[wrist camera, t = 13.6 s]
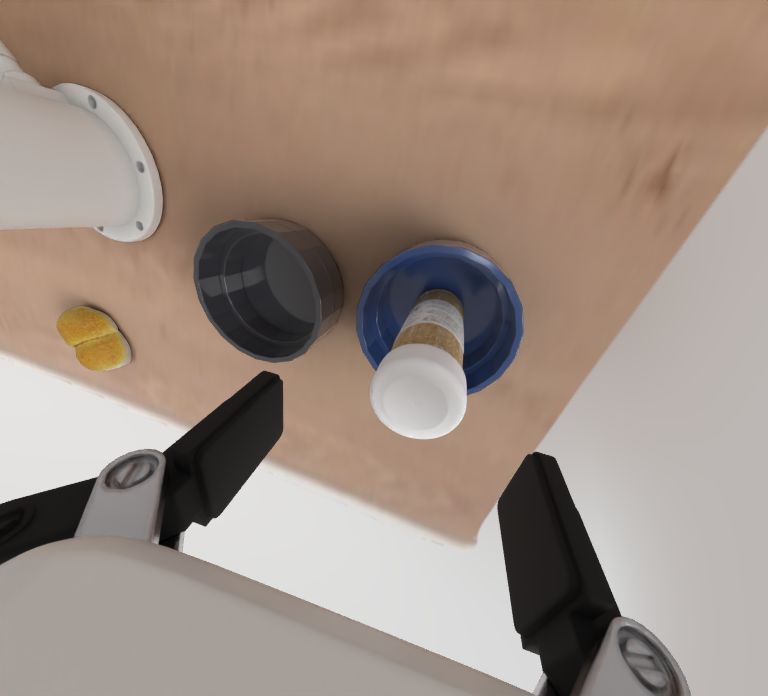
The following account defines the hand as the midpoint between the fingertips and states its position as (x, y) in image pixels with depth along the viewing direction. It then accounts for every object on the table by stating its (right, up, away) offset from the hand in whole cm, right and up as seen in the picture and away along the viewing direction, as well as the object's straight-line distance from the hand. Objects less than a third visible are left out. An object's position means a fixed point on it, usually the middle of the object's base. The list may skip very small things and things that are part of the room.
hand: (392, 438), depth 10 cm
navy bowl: (+5, +7, +14) cm, 16 cm away
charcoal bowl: (-10, +10, +17) cm, 22 cm away
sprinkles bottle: (+5, +7, +14) cm, 16 cm away
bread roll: (-39, +5, +28) cm, 48 cm away
